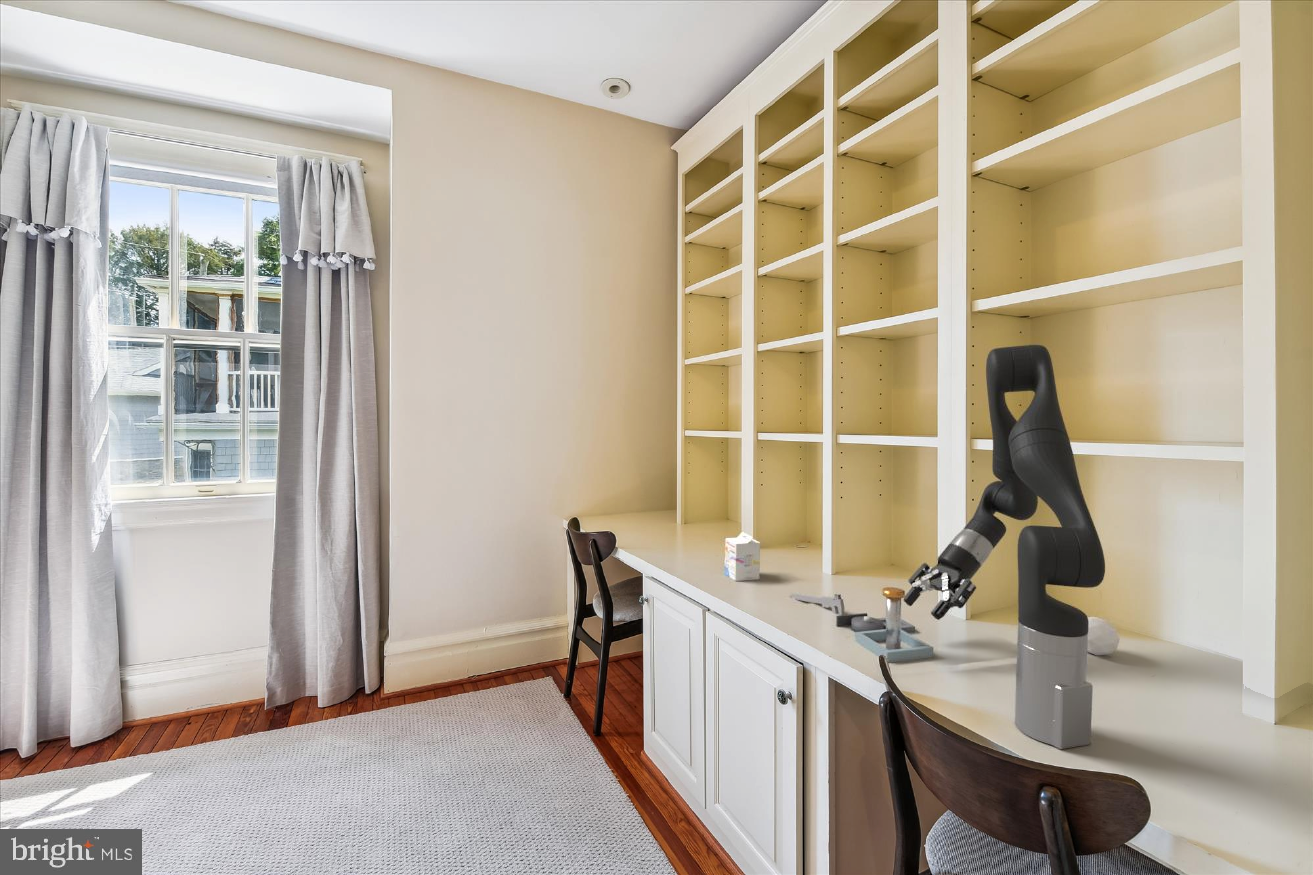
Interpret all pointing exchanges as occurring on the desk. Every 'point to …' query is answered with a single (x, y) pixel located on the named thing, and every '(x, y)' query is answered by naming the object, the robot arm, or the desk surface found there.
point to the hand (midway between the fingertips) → (920, 609)
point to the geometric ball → (1101, 637)
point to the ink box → (742, 558)
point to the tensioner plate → (869, 623)
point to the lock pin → (893, 616)
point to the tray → (916, 652)
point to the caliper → (823, 601)
